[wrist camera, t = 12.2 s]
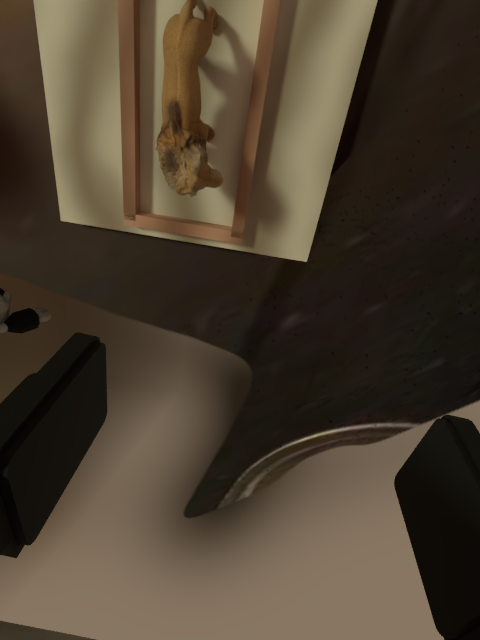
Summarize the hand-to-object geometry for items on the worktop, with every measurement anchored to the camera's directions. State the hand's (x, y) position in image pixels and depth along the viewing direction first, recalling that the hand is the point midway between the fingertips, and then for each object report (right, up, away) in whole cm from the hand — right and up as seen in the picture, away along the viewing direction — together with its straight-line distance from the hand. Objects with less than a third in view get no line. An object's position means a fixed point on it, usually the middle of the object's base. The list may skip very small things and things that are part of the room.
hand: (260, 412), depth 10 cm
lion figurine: (-4, +19, +15) cm, 24 cm away
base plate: (-4, +19, +17) cm, 25 cm away
